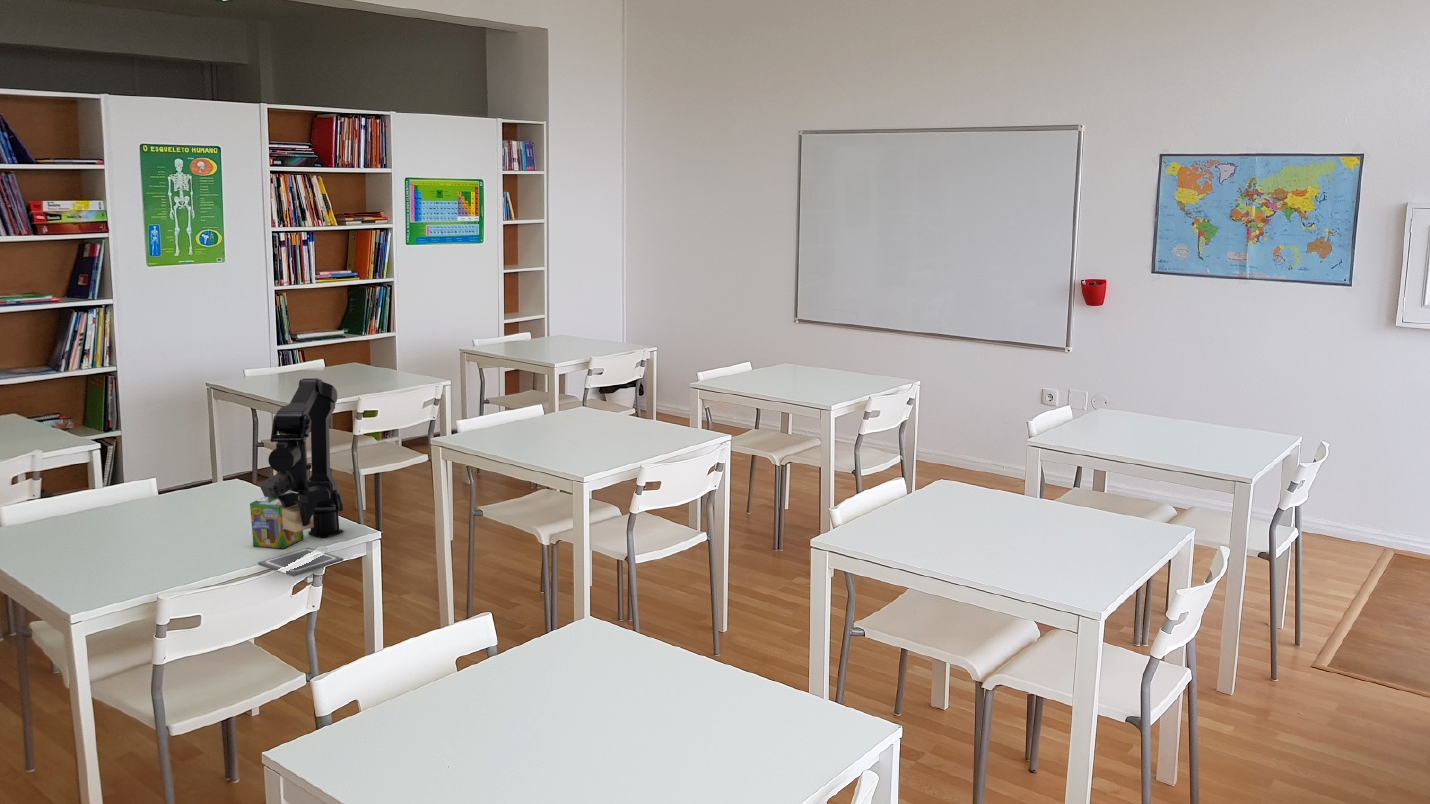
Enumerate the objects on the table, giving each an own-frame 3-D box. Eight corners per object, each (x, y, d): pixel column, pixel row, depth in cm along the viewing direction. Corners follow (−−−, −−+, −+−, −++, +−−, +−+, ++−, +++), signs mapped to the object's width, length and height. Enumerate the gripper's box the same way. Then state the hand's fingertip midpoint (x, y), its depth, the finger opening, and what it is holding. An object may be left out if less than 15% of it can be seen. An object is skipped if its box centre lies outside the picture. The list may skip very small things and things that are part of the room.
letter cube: (301, 523, 273) (299, 503, 272) (314, 527, 270) (312, 507, 269) (283, 528, 269) (281, 508, 268) (296, 532, 266) (294, 512, 265)
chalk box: (283, 549, 280) (279, 493, 277) (251, 546, 282) (247, 490, 280) (305, 538, 289) (301, 484, 286) (274, 535, 291) (270, 481, 288)
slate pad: (308, 549, 280) (308, 547, 280) (343, 560, 272) (343, 557, 272) (258, 564, 269) (258, 561, 269) (293, 576, 261) (293, 573, 261)
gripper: (241, 462, 265) (245, 525, 268) (288, 474, 254) (292, 539, 257) (282, 453, 274) (286, 514, 277) (329, 464, 263) (333, 527, 266)
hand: (298, 523), depth 269 cm, fingers closed on letter cube, 5 cm apart
